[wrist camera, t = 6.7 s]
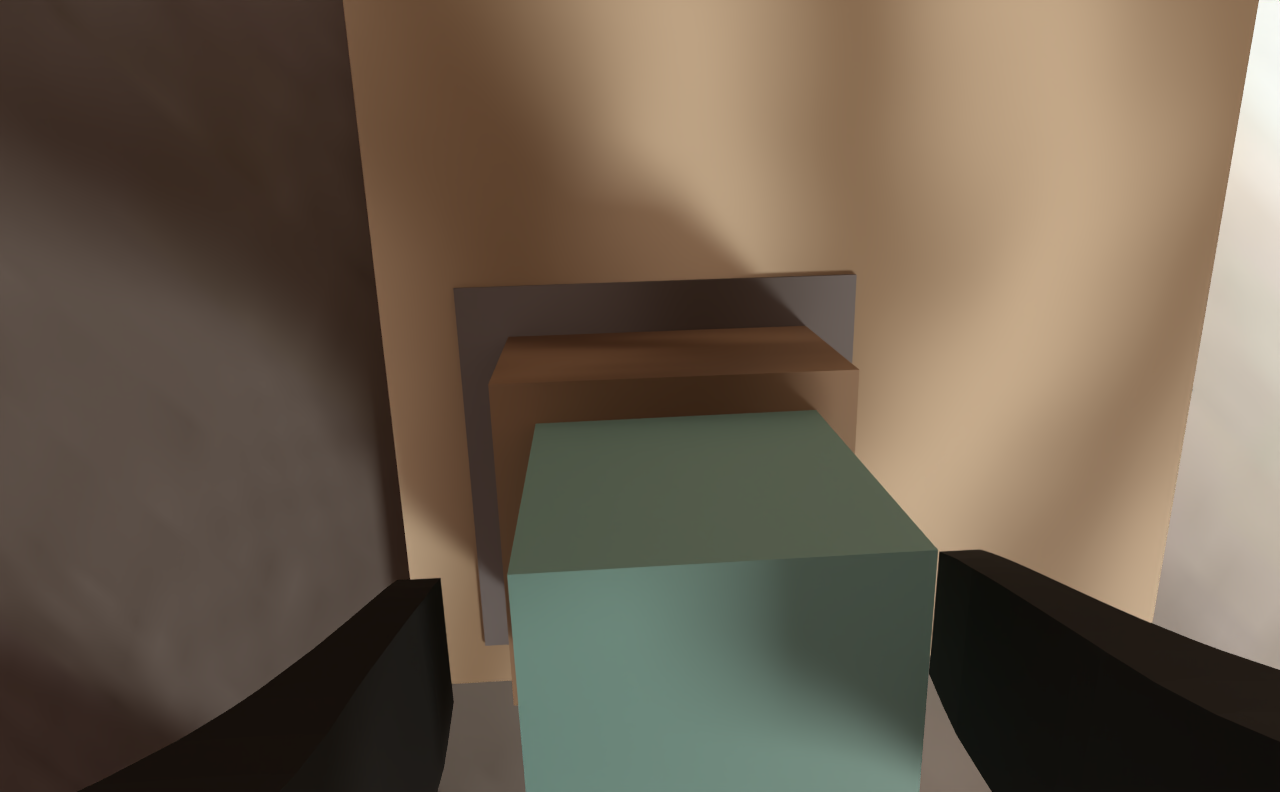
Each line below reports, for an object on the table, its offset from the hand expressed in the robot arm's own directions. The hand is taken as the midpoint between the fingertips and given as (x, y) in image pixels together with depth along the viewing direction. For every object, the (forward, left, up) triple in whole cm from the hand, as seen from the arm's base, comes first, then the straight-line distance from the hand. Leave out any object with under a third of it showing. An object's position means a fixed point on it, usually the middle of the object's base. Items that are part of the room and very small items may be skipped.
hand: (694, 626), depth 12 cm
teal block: (0, 0, -3) cm, 3 cm away
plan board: (+3, +3, -7) cm, 8 cm away
